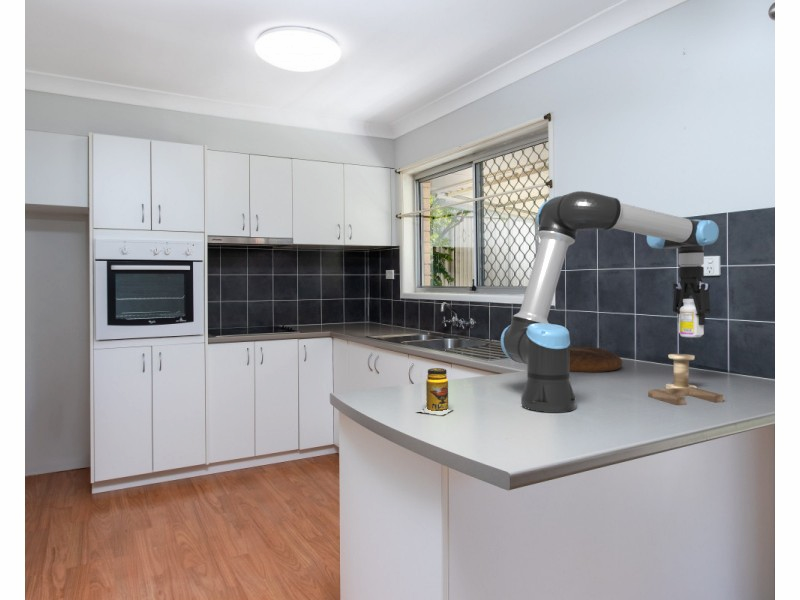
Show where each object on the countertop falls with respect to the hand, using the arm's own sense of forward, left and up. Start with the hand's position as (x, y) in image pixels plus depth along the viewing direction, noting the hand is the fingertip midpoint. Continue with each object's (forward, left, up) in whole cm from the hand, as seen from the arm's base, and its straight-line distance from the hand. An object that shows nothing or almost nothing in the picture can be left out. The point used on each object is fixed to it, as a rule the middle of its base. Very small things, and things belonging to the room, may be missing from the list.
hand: (690, 333), depth 181 cm
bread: (-13, +43, -18) cm, 48 cm away
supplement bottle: (0, 0, -1) cm, 1 cm away
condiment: (-95, -13, -18) cm, 97 cm away
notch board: (-18, -18, -17) cm, 30 cm away
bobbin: (-9, -6, -17) cm, 20 cm away
